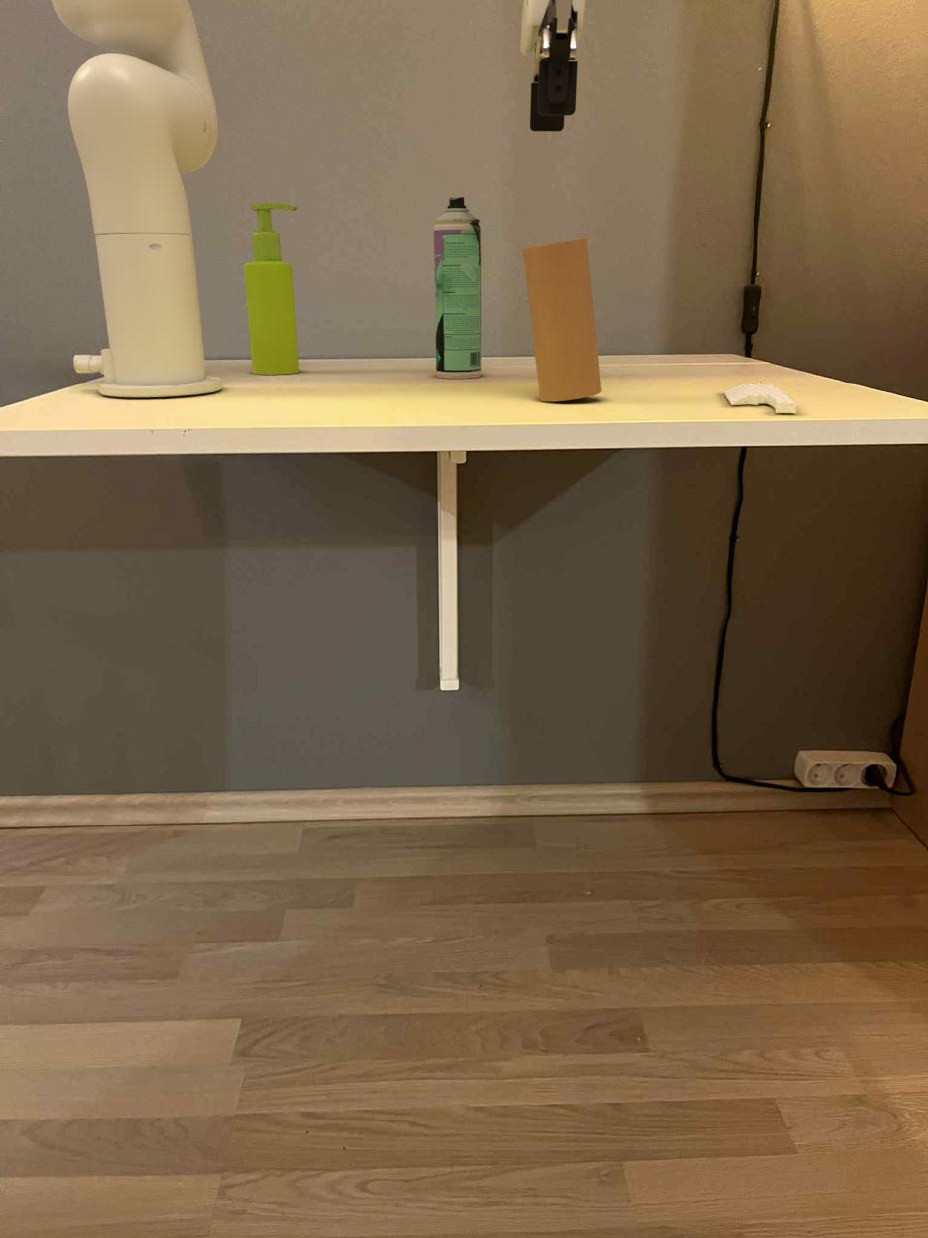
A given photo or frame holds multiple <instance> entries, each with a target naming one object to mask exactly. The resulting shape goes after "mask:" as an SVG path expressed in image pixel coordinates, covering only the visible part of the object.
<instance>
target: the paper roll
mask: <svg viewBox="0 0 928 1238" xmlns="http://www.w3.org/2000/svg"><path fill="white" fill-rule="evenodd" d="M521 250H522V259H523V265H524V266H523V267H524V274H525V275H524V276H525V283H526V291H527V300H528V309H529V316H530V317H529V318H530V326H531V333H532V342H533V351H534V352H533V353H534V360H535V369H536V376H537V384H538V393H539V394H538V395H539V400H540V401H541V402H548V403H549V402H565V401H573V400H579V399H584V398H589V397H593V396H596V395H599V394H601V393H602V382H601V373H600V372H601V371H600V362H599V352H598V351H599V350H598V342H597V340H598V339H597V331H596V320H595V310H594V302H593V301H594V299H593V298H594V297H593V290H592V277H591V268H590V267H591V266H590V257H589V248H588V238H578V239H571V240H563V241H555V242H551V243H543V244H540V245H539V244H538V245H534V246H533V245H532V246H528V247H524V248H522V249H521Z"/></svg>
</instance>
